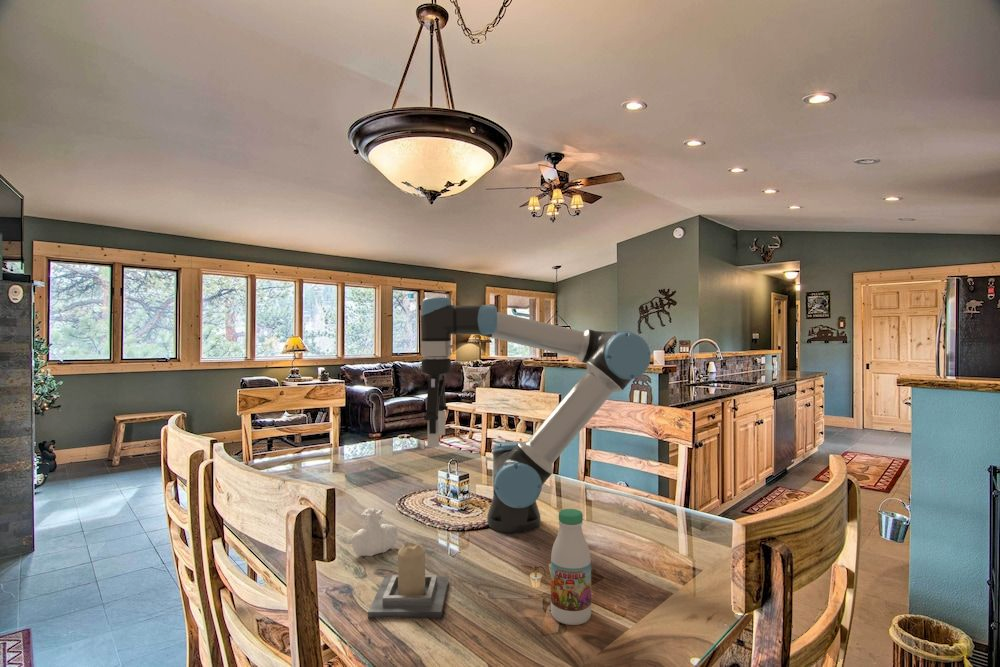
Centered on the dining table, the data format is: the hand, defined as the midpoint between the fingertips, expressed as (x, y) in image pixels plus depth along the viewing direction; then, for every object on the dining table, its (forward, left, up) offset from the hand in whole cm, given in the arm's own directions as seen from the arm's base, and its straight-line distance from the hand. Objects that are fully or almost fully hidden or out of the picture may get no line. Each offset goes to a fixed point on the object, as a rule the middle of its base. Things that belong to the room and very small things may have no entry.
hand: (436, 440), depth 133 cm
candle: (+2, +27, -26) cm, 37 cm away
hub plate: (+2, +27, -27) cm, 38 cm away
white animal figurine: (+16, +4, -27) cm, 31 cm away
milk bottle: (-30, +33, -27) cm, 52 cm away
